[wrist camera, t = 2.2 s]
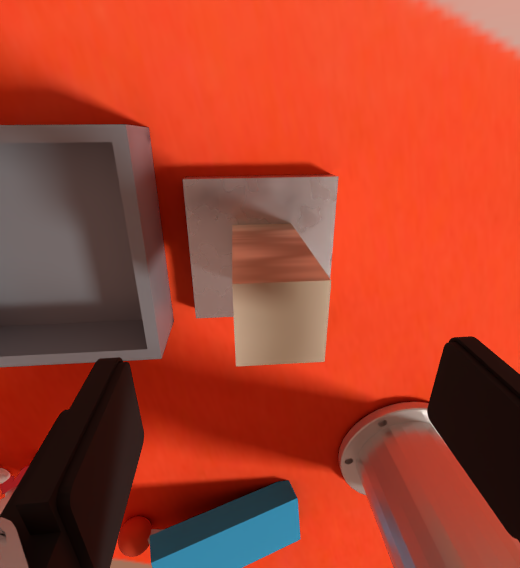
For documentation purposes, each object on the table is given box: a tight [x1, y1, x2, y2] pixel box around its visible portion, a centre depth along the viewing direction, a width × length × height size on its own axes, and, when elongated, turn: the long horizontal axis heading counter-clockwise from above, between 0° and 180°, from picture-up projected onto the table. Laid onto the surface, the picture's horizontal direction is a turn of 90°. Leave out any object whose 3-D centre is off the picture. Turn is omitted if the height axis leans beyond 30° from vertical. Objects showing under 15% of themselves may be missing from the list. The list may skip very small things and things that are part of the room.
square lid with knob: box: [183, 174, 338, 318], centre depth 23 cm, size 10×10×4 cm
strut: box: [232, 223, 331, 366], centre depth 19 cm, size 4×4×10 cm
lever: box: [118, 480, 300, 568], centre depth 35 cm, size 7×7×18 cm
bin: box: [0, 124, 174, 367], centre depth 21 cm, size 14×14×5 cm
